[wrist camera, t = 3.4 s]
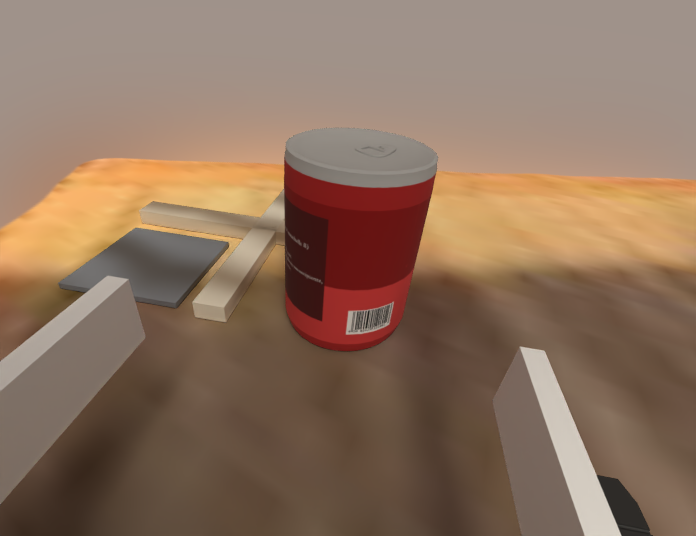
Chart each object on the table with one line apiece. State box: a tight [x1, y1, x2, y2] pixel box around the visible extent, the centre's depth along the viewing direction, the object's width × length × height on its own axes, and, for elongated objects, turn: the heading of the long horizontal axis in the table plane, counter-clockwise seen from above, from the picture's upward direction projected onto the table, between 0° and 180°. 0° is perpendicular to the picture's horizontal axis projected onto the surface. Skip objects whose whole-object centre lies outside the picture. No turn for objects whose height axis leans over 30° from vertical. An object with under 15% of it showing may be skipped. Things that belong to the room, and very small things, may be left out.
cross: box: [58, 189, 285, 322], centre depth 31 cm, size 22×22×1 cm
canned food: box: [284, 128, 438, 351], centre depth 21 cm, size 8×8×11 cm
